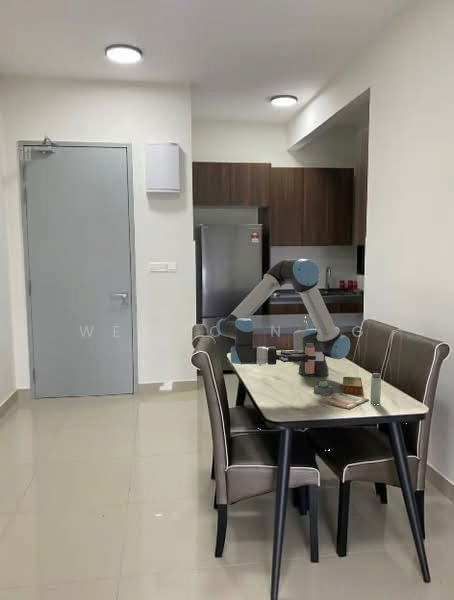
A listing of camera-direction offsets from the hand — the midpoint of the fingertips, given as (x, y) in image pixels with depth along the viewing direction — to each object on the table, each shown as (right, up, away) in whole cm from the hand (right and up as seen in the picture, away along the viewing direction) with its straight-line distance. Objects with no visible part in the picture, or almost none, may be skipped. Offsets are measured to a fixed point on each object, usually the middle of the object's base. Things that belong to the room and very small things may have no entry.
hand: (322, 356), depth 193 cm
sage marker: (+20, -19, -6) cm, 28 cm away
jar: (+6, -11, +78) cm, 79 cm away
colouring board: (+8, -18, -3) cm, 20 cm away
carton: (+16, -17, +14) cm, 28 cm away
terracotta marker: (-5, -7, +1) cm, 9 cm away
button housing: (+2, -17, +10) cm, 20 cm away
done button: (+2, -15, +10) cm, 18 cm away
